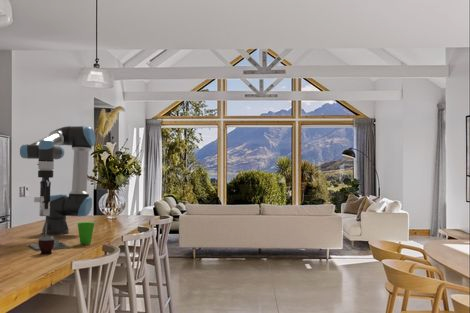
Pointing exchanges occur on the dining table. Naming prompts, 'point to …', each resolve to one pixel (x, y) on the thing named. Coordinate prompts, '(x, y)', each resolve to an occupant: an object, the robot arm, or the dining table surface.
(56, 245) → the duct flange
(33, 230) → the dining table surface
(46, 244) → the mate gourd
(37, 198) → the elbow
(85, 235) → the cup
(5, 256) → the dining table surface
